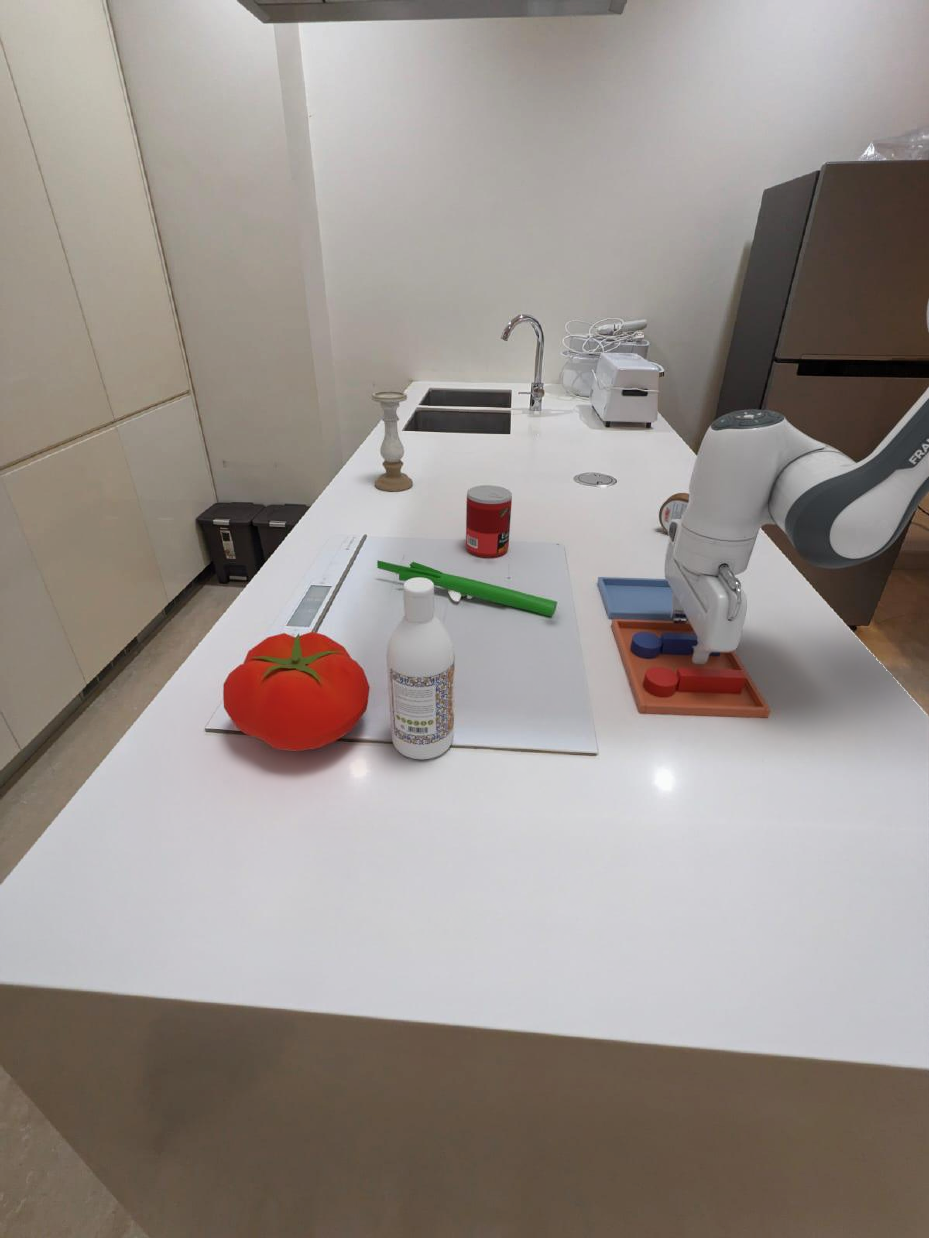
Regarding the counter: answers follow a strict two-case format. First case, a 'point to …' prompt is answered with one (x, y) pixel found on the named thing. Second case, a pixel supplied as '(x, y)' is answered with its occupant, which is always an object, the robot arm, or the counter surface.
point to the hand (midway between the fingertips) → (687, 640)
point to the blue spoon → (663, 644)
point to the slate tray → (636, 598)
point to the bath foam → (421, 676)
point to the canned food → (488, 520)
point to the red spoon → (692, 681)
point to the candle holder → (391, 444)
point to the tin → (673, 509)
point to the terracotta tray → (679, 702)
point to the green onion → (472, 588)
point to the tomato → (296, 692)
